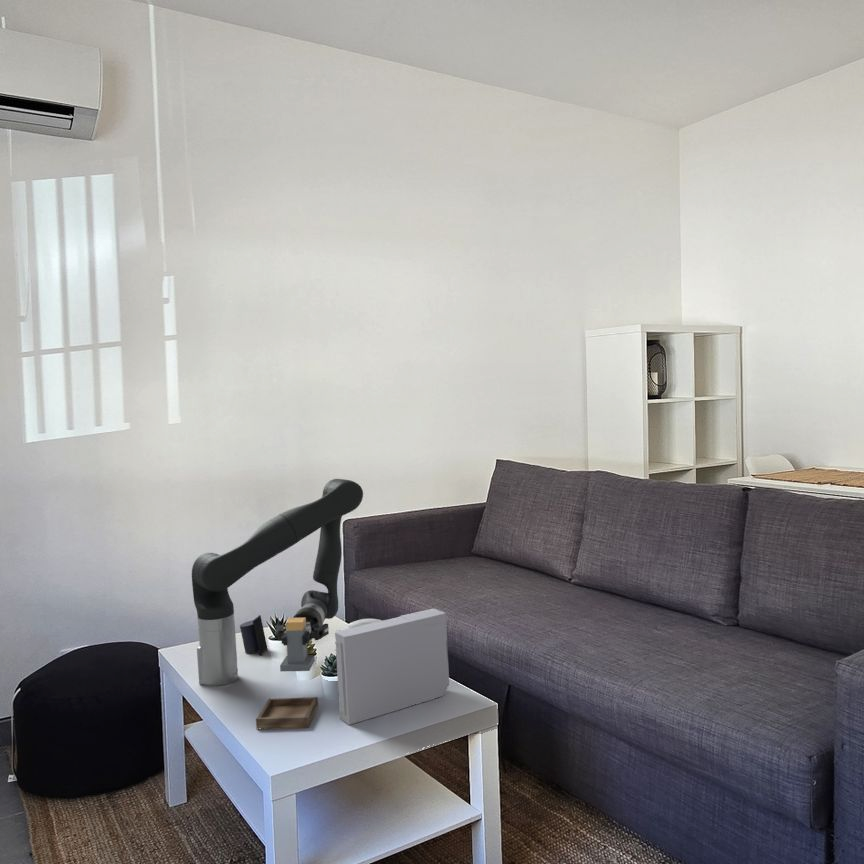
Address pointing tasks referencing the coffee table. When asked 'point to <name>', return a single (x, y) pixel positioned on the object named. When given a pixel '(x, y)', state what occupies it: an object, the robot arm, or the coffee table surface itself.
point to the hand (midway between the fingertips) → (294, 641)
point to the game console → (391, 664)
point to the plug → (296, 647)
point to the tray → (287, 713)
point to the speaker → (254, 636)
